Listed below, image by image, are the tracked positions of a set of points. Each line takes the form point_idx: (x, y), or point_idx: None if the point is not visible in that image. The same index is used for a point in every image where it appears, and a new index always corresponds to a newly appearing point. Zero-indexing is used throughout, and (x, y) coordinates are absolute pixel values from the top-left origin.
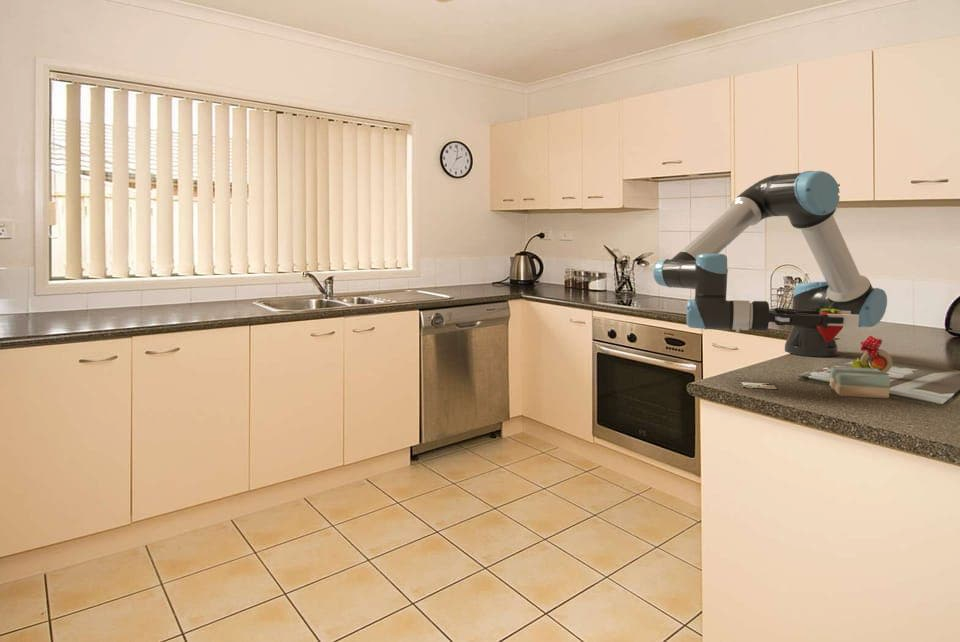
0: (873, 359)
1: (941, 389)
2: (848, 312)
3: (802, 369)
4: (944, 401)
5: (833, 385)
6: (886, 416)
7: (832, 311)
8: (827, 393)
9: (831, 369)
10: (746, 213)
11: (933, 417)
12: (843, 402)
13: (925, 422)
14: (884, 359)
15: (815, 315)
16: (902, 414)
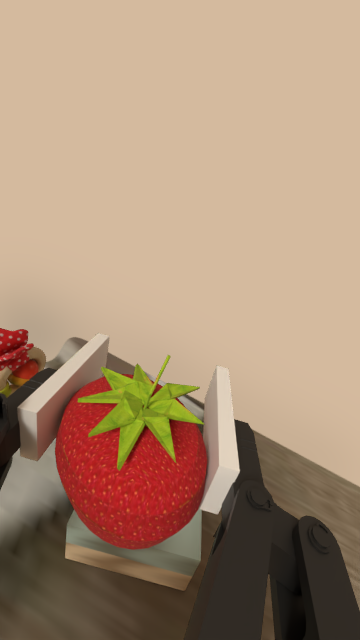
0: (20, 373)
1: (127, 370)
2: (106, 344)
3: None
4: (194, 404)
5: (107, 564)
6: (350, 565)
7: (178, 413)
8: (159, 633)
9: (74, 531)
10: None
11: (299, 471)
12: (265, 629)
13: (343, 504)
14: (34, 361)
15: (333, 623)
16: (309, 515)
